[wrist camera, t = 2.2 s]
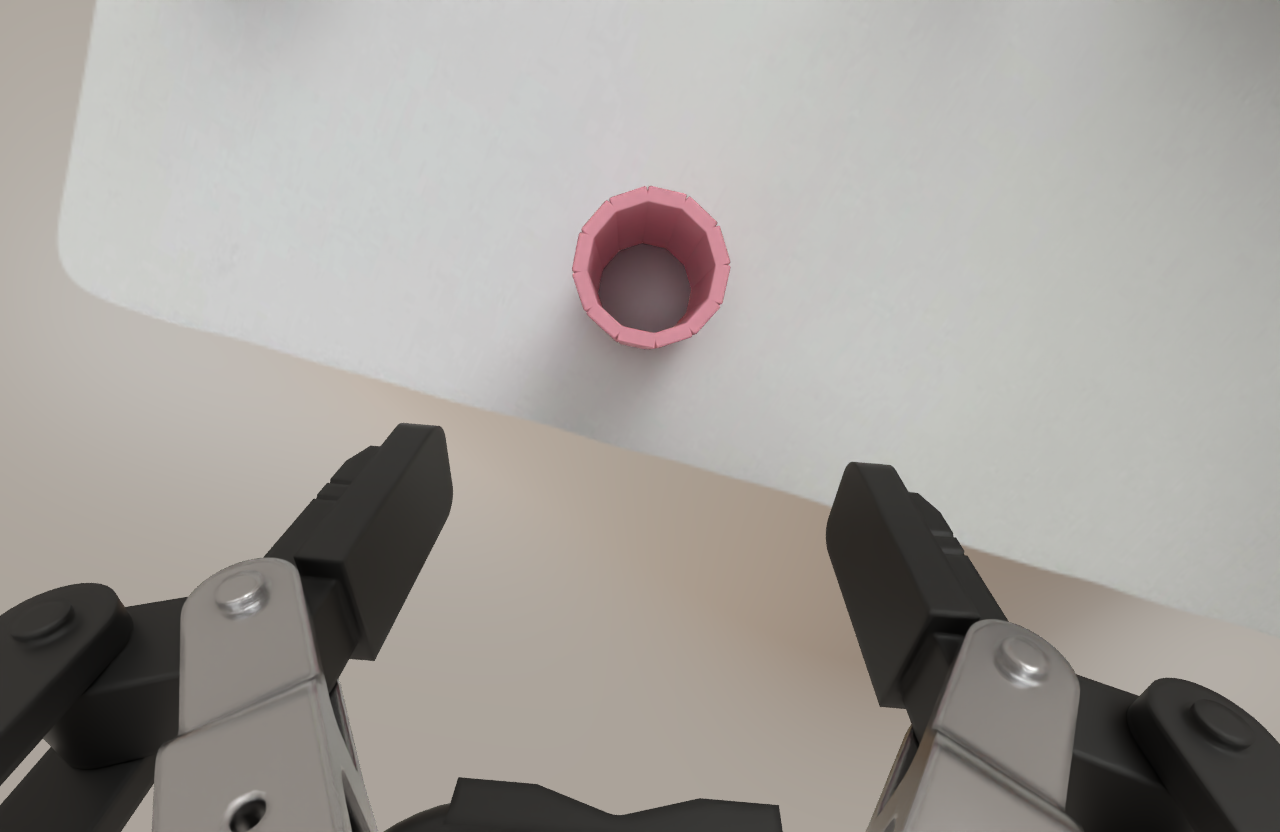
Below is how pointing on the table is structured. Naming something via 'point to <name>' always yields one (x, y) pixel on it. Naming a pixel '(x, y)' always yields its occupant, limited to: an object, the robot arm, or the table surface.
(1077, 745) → the robot arm
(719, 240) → the pink hollow tube
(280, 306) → the table surface
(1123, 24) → the table surface
